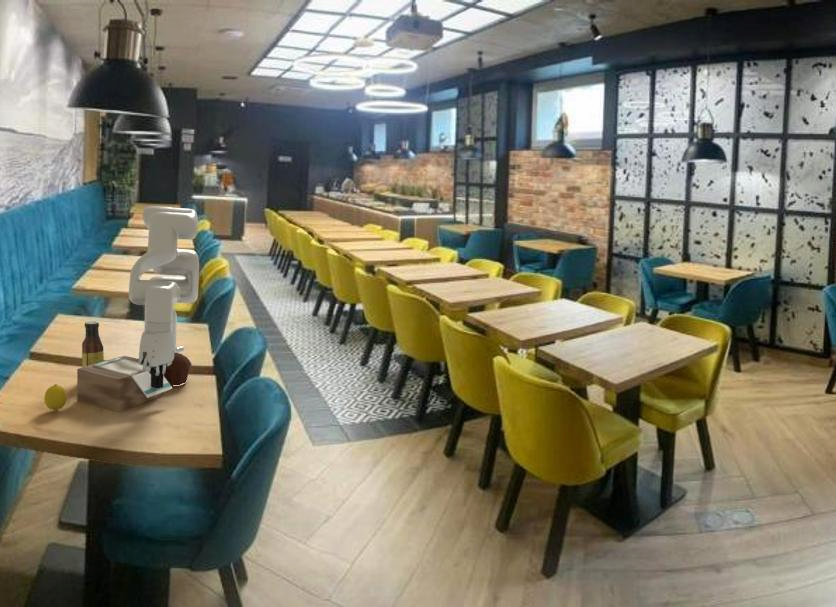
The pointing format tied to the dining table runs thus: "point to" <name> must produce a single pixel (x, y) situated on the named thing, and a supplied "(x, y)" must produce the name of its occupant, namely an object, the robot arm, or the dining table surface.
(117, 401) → the brown box with strip
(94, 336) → the sauce bottle
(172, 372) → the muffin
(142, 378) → the stub
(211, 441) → the dining table surface
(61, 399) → the lemon
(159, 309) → the robot arm
